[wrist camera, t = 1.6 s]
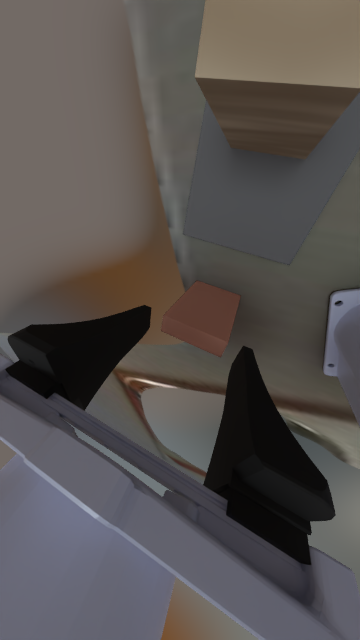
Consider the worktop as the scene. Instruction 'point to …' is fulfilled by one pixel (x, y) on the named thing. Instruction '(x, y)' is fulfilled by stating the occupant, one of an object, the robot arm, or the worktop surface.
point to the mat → (265, 189)
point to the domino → (279, 70)
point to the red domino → (203, 317)
